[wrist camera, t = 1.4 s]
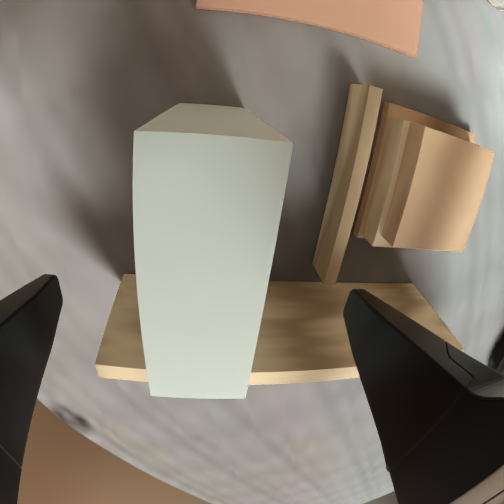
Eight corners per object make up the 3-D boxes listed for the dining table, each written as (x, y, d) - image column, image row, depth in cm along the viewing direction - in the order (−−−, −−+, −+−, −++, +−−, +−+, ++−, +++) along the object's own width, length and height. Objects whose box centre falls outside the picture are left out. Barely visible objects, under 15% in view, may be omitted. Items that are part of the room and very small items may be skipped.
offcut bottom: (463, 130, 19) (476, 134, 18) (432, 236, 23) (442, 245, 22) (377, 100, 18) (389, 102, 16) (348, 227, 22) (357, 237, 21)
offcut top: (480, 146, 17) (495, 152, 15) (451, 241, 20) (463, 252, 19) (410, 121, 15) (425, 126, 14) (381, 235, 19) (392, 247, 18)
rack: (462, 122, 18) (548, 154, 11) (407, 293, 25) (457, 360, 18) (125, 58, 14) (64, 45, 7) (125, 285, 21) (98, 377, 14)
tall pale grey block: (243, 107, 16) (293, 142, 7) (226, 252, 21) (245, 398, 11) (179, 102, 16) (133, 131, 6) (171, 249, 20) (150, 395, 11)
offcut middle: (469, 142, 18) (483, 147, 17) (440, 241, 22) (451, 251, 20) (391, 116, 17) (404, 119, 15) (362, 235, 20) (372, 246, 19)
